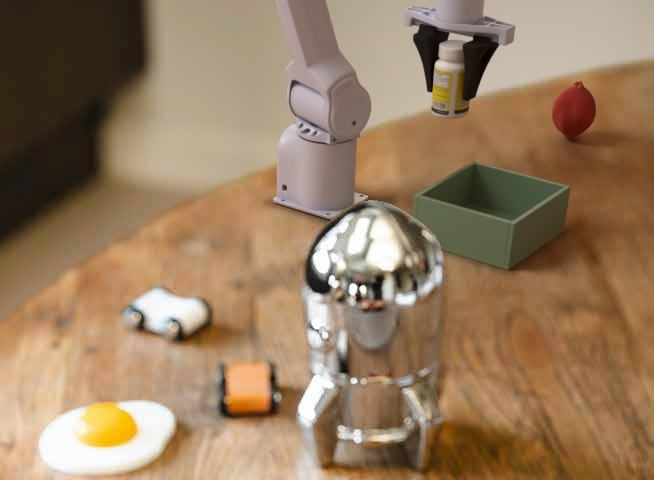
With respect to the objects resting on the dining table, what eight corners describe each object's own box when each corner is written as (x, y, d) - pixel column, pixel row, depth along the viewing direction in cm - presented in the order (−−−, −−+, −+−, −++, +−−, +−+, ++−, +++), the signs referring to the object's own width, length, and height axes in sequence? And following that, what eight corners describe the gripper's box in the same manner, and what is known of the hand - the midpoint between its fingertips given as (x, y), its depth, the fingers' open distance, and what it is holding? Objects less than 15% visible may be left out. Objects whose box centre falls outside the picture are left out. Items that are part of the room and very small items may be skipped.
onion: (547, 130, 169) (555, 71, 164) (589, 132, 169) (599, 72, 163) (549, 146, 165) (558, 85, 160) (592, 147, 164) (603, 87, 159)
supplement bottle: (467, 107, 156) (474, 38, 150) (469, 120, 152) (476, 50, 147) (430, 106, 156) (435, 38, 151) (431, 119, 153) (437, 50, 147)
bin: (410, 240, 143) (413, 195, 139) (468, 204, 151) (473, 160, 147) (508, 270, 137) (514, 224, 133) (563, 231, 144) (571, 186, 141)
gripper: (533, -21, 143) (517, 97, 151) (428, -39, 150) (420, 75, 158) (503, -8, 138) (489, 112, 147) (397, -27, 146) (390, 89, 154)
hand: (451, 94), depth 153 cm, fingers closed on supplement bottle, 5 cm apart
